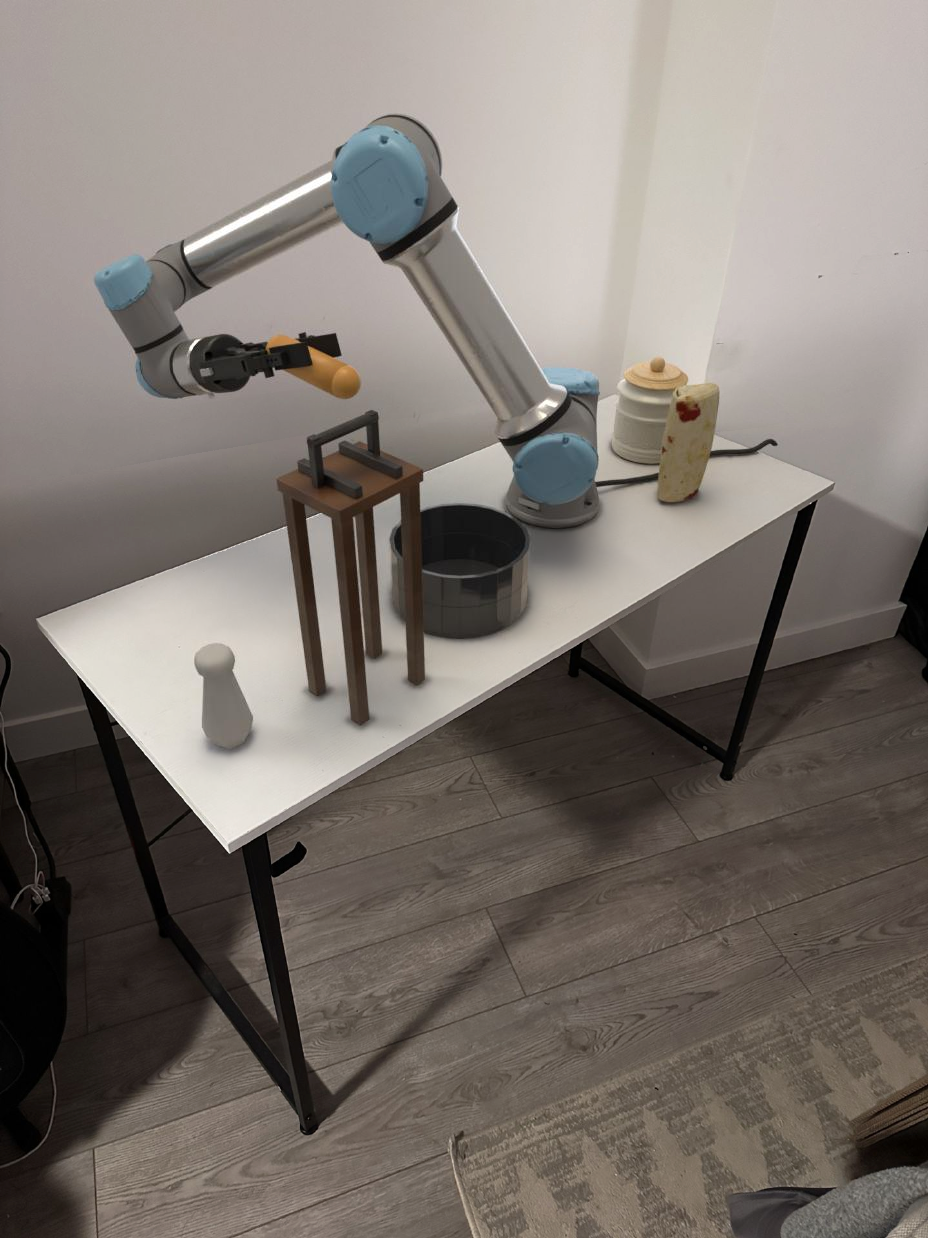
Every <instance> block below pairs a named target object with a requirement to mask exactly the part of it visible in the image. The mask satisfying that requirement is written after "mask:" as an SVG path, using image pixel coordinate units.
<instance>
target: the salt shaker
mask: <svg viewBox="0 0 928 1238" xmlns="http://www.w3.org/2000/svg"><path fill="white" fill-rule="evenodd" d="M193 663H194V664H193V665H194V668H195V670H196V672H197V674H198V676H200V677H202V678H203V679H202V704H201V705H202V711H201V728H202V730H203V733H204V735H205V737H206V738H207V739H208V740H209V741H210V742H211V743H213V745H215V746H217V747H221V748H223V749H227V750H230V749H232V748H235V747H238V746H241V745H244V744H245V742H246V740H247V737H248V735H249V733H250V731H251V730H252V727H253V722H254V715H253V713H252V712H251V711H252V710H251V709H250V707H249V704H248V702H247V699H246V697H245V695H244V693H243V691H242V689H241V687H240V684H239V682H238V679H237V677H236V675H235V673H234V669H235V664H236V656H235V654H234V652H233V650H232V649H231V647H230V646H228V645H226V644H224V643H217V642H213V643H209V644H205V645H204V646H202V647H201V648H199V650H198V651H197V652H196V653H195V655H194V659H193Z"/></svg>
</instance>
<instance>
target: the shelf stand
mask: <svg viewBox="0 0 928 1238" xmlns="http://www.w3.org/2000/svg"><path fill="white" fill-rule="evenodd" d="M379 420H380V416H379V412H378V411H377V410H374V409H370V410H367V411H365V412H364V414H361V415H359V416H357V417H354V418H352V419H350V420H347V421H345V422H342V423H340V424H338V425H336V426H333V427H331V428H328V429H326V430H324V431H321V432H320V433H317V434H315V433H313V434H311V435H308V436H307V437H306V444H307V450H308V451H307V453H308V459H307V458H305V457H304V458H302V459H299V460H297V462H296V464H297V469H294V470H293V471H290V472H288V473H286V474H283V475H281V476H279V477H277V478H276V479H275V480H276V487H277V492H279V493H281V494H282V501H283V508H284V516H285V524H286V531H287V537H288V545H289V552H290V561H291V565H292V575H293V582H294V590H295V597H296V603H297V610H298V619H299V620H298V621H299V627H300V633H301V634H300V635H301V642H302V650H303V656H304V663H305V671H306V679H307V685H308V691H309V692H310V693H312V694H313V695H315V696H316V697H319V696H320V695H321V694H323V693H324V692H326V691H327V682H326V681H327V680H326V674H325V666H324V657H323V647H322V640H321V632H320V623H319V615H318V614H319V613H318V606H317V598H316V590H315V582H314V573H313V565H312V556H311V555H312V554H311V547H310V540H309V532H308V531H309V530H308V523H307V514H306V507H309V508H311V510H314V511H316V512H318V513H320V514H321V515H324V516H326V517H328V518H330V522H331V531H332V540H333V551H334V559H335V560H334V562H335V570H336V582H337V590H338V591H337V592H338V601H339V608H340V609H339V611H340V612H339V613H340V620H341V622H340V623H341V632H342V642H343V643H342V644H343V653H344V659H345V660H344V662H345V669H346V670H345V671H346V681H347V690H348V702H349V712H350V720H351V721H352V722H353V723H355V724H356V725H358V726H362V725H363V724H364V723H366V722H368V721H369V720H370V707H369V695H368V683H367V672H366V670H367V669H366V661H365V660H366V659H365V658H366V657H365V655H367V656H368V657H370V658H372V659H373V660H375V659H376V658H378V657H379V656H381V655H382V654H383V639H382V637H383V636H382V623H381V609H380V594H379V578H378V577H379V576H378V564H377V548H376V546H377V545H376V533H375V531H376V529H375V517H374V507H376V506H378V505H380V504H381V503H384V502H386V501H388V500H389V499H391V498H393V497H395V496H397V495H399V507H400V520H401V531H402V554H403V577H404V600H405V621H404V622H405V641H406V664H407V680H408V681H409V682H410V683H413V684H414V685H415V686H418V685H419V684H421V683H422V682H424V681H425V680H426V667H425V666H426V661H425V657H426V656H425V633H424V622H423V586H422V551H421V515H420V510H421V486H420V484H421V483H422V482H424V468H422V467H420V466H419V465H415V464H413V463H410V462H409V461H406V460H405V459H401V458H399V457H397V456H395V455H392V454H390V453H388V452H387V451H386V452H385V451H383V450H381V441H380V426H379ZM363 428H365V429H366V443H365V442H362V441H361V440H359V441H357V442H355V443H352V442H350V441H347V440H342V441H339V442H338V443H337V444H338V450H337V451H334V452H332V453H330V454H328V455H326V456H324V457H323V450H322V446H324V445H327V444H329V443H332V442H333V441H336V440H338V439H340V438H342V437H344V436H347V435H349V434H352V433H354V432H356V431H359V430H361V429H363ZM305 506H306V507H305ZM354 523H355V524H354ZM354 525H355V526H354ZM355 537H356V538H355ZM356 547H357V549H356ZM357 560H358V561H357ZM359 585H360V587H359ZM360 597H361V599H360ZM361 610H362V611H361ZM364 646H365V647H364Z"/></svg>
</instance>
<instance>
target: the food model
mask: <svg viewBox="0 0 928 1238" xmlns="http://www.w3.org/2000/svg"><path fill="white" fill-rule="evenodd" d="M719 405H720V387H719V385H717V384H716V383H714V382H703V383H698V384H685V385H680V386H678V387H677V388H676V389H675V390H674V392H673V395H672V400H671V404H670V409H669V414H668V418H667V423H666V427H665V431H664V435H663V440H662V448H661V458H660V463H659V468H658V472H659V477H658V478H657V498H658V500H659V501H662V502H666V503H678V502H684V501H687V500H690V499H692V498H694V497H696V496H697V494H698V493H699V489H700V487H701V484H702V482H703V479H704V475H705V472H706V469H707V466H708V462H709V461H710V460H709V459H710V457H711V456H710V453H711V451H712V449H713V443H714V438H715V432H716V428H717V421H718V420H717V419H718V414H719V413H718V412H719Z"/></svg>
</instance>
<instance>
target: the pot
mask: <svg viewBox="0 0 928 1238" xmlns="http://www.w3.org/2000/svg"><path fill="white" fill-rule="evenodd" d="M420 515H421V551H422V586H423V622H424V634H428V635H431V636H436V637H440V638H446V639H459V640H460V639H474V638H480V637H485V636H489V635H492V634H495V633H498V632H500V631H502V630H504V629H506V628H508V627H509V626H511V625H512V624H514V623H516V621H517V620H518V619H519V618H520V617H521V615H522V614H523V612H524V610H525V608H526V605H527V599H528V598H527V596H528V584H529V565H530V549H531V536H530V534H529V532H528V529H527V527H526V526H525V525H524V524H523V523H522V521H521V520H520V519H518V518H517V517H515V516H514V515H512V514H511V513H508V512H506V511H503V510H500V509H498V508H495V507H492V506H487V505H484V504H483V505H482V504H478V503H467V502H466V503H465V502H455V503H454V502H452V503H441V504H437V505H431V506H426V507H424V508H420ZM388 541H389V557H390V576H391V578H390V579H391V595H392V603H393V607H394V610H395V611H396V613H397V615H398V616H399V617H400V618H401V620H403V621H404V622H405V600H404V577H403V554H402V531H401V519H400V520H399V521H398V522H397V523H396V524H395V526H394V527H393V528H392V529H391V533H390V536H389V539H388Z"/></svg>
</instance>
